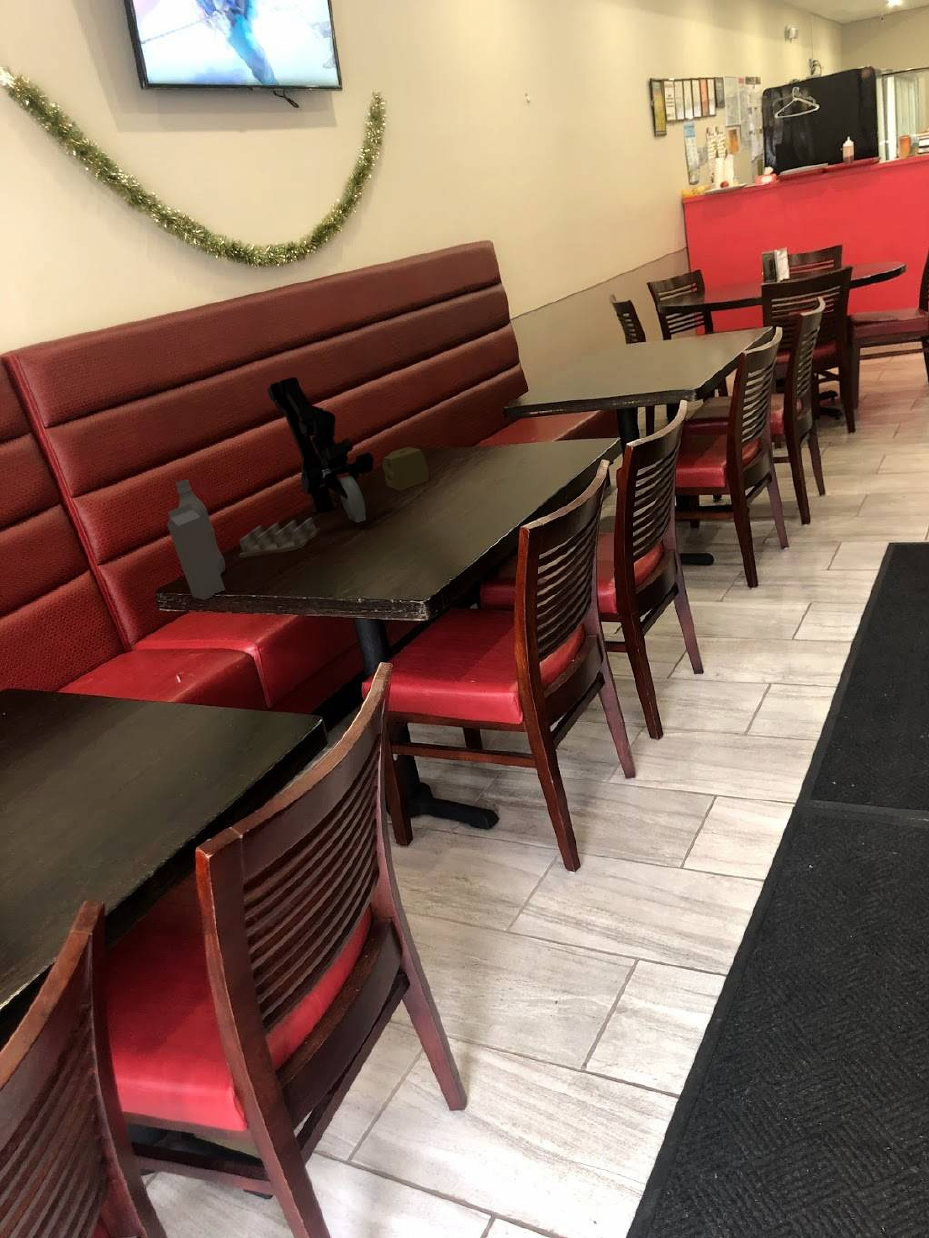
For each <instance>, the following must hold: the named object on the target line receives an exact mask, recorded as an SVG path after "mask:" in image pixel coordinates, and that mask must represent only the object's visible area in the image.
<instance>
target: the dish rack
mask: <svg viewBox="0 0 929 1238" xmlns="http://www.w3.org/2000/svg"><path fill="white" fill-rule="evenodd" d="M320 531H321V532H322V530H321V528H320V527H318V528H316V526H315V522H314V518H313V517H309V518H307V519H306V520H304V522H302V523H301V524H300V525H297V521H296V519H293V520H291V521H290V522H289V523H287V524H286V525H285V526H284V527H283V528H281V527H280V524H279V522H276V523H274V524H272V525H271V526H269V528H266V530H265V531H264V527H263V525H262V524H261V525H258V526H257V527H255V528H254V529H253V530H251V531H250V532H249V533H247V534H246V535H245V536H243V537H242V538H240V539H239V540H238V542H239V544H240V547H241V551H242V552H240V553H239V554H238V557H239V559H243V558H245V559H246V558H250V557H258V556H263V555H270V554H272V555H273V554H278V553H286V552H291V551H292V552H293V551H298V550H297V549H300V548H301V549H303V547H304V545H305V544H306V543H307V542H308V541H309V540H310V541H311V539H312V538H313V537H314V538H315V537H316V536H318V533H319V534H320V533H321V532H320ZM314 538H313V539H314ZM313 539H312V540H313ZM310 541H309V542H310ZM309 542H308V543H309ZM308 543H307V544H308ZM307 544H306V545H307ZM306 545H305V546H306ZM302 546H303V547H302ZM301 549H300V550H301Z"/></svg>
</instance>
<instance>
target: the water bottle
mask: <svg viewBox="0 0 929 1238" xmlns="http://www.w3.org/2000/svg"><path fill="white" fill-rule="evenodd" d="M175 484H176V487H177V489H176V490H177V493H178V495H179V503H178V508H180V507H182V506H185V505H187V504H191V507H192V510H193V511H195V512H196V513H197V514H198V515H199V516H200V518H201V520H202V523H203V526H204V529H205V532H206V535H207V538H208V541H209V544H210V547H211V550H212V552H213V555H214V558H215V561H216V564H217V567H218V570H219V573H220V576H221V575H222V574H223V573H224V572H225V570H226V563H225V558H224V556H223V555H222V553H221V551H220V549H219V546H218V544H217V543H218V542H217V540H216V534H215V530H214V528H213V525H212V524H213V523H211V520H210V516H209V513H208V509H207V506H205V504H204V503H203V502H202V501H201V500H200V499H199V497H197V496H196V495H195V494H194V492H193V490H192V488H193V487H191V485H190V483H189V480H188V479H184V480H183V479H182V480H179V481H177V482H176V483H175Z"/></svg>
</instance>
